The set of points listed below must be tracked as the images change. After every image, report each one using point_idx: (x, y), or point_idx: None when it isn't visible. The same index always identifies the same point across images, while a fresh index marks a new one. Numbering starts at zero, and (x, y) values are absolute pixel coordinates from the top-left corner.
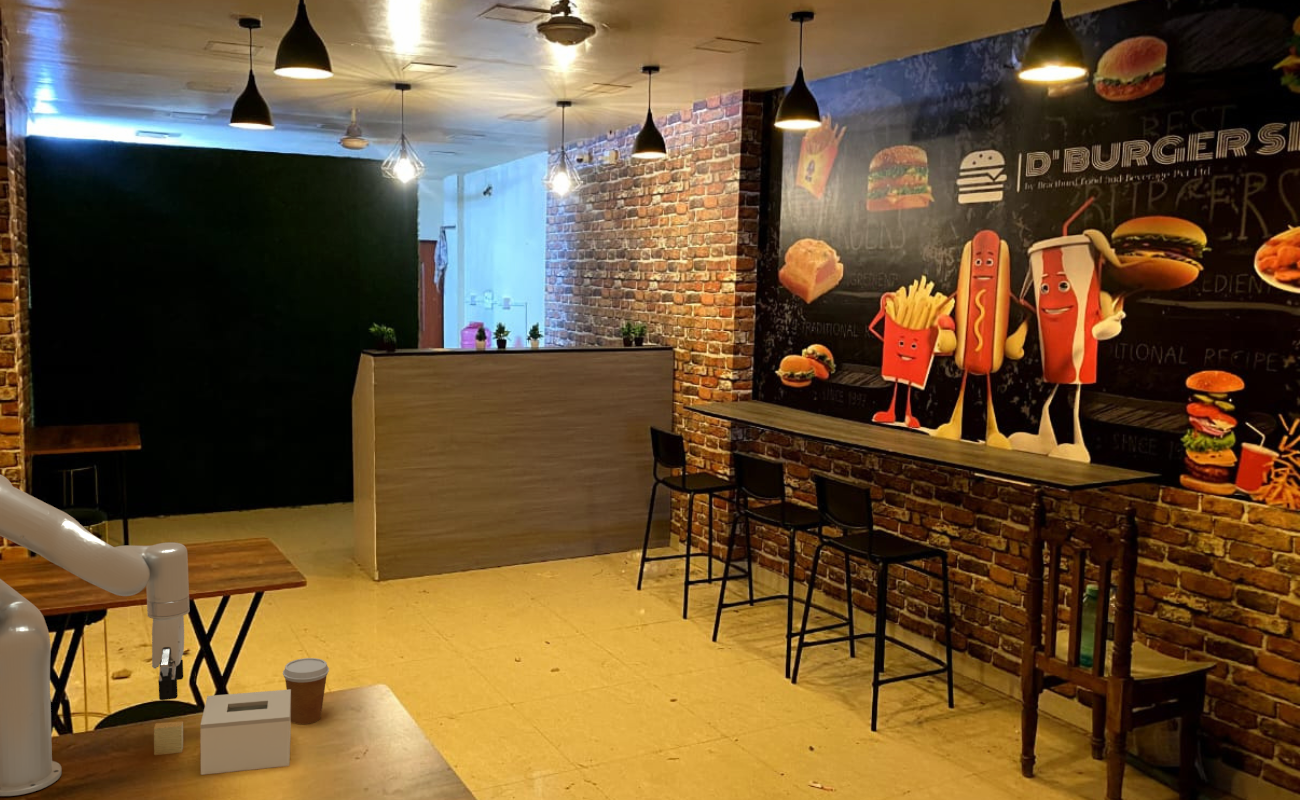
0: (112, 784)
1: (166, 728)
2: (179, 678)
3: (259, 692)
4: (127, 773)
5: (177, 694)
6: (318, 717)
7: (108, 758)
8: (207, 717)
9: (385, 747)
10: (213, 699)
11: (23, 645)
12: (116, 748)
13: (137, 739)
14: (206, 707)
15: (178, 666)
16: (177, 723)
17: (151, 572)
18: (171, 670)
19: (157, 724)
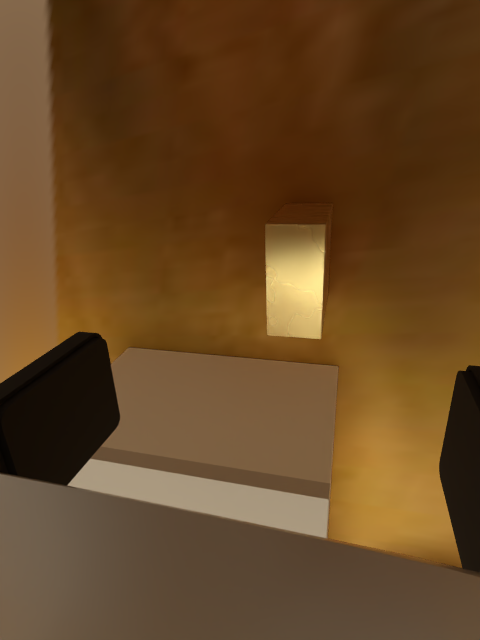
0: (81, 96)
1: (267, 276)
2: (444, 457)
3: None
4: (153, 132)
5: (108, 434)
6: None
7: (295, 10)
8: (86, 473)
9: None
10: (274, 514)
11: None
12: (397, 18)
13: (472, 102)
14: (184, 481)
15: (468, 549)
16: (301, 318)
17: None
18: (474, 465)
19: (310, 234)
